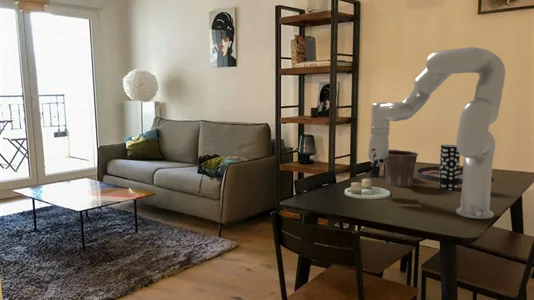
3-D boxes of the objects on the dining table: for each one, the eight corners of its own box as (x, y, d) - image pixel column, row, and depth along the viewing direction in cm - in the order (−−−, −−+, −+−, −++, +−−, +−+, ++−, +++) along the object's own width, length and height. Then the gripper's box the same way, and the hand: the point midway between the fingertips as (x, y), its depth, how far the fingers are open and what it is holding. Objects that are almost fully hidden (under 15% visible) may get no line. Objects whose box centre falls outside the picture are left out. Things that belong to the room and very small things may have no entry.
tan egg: (363, 195, 186) (363, 184, 185) (354, 196, 184) (354, 184, 184) (357, 193, 190) (358, 182, 189) (349, 194, 189) (349, 182, 188)
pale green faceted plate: (391, 202, 178) (391, 196, 178) (344, 200, 182) (344, 194, 181) (387, 191, 197) (387, 186, 196) (344, 190, 200) (345, 184, 200)
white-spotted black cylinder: (459, 190, 198) (462, 147, 195) (440, 189, 199) (442, 146, 197) (455, 186, 206) (458, 144, 203) (437, 185, 207) (439, 144, 205)
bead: (371, 192, 192) (372, 181, 191) (361, 191, 193) (361, 180, 192) (371, 189, 196) (371, 179, 195) (361, 189, 197) (361, 178, 196)
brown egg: (381, 173, 187) (381, 162, 186) (385, 175, 183) (385, 163, 182) (371, 173, 187) (371, 162, 186) (374, 175, 182) (375, 164, 182)
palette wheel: (417, 181, 219) (417, 176, 219) (416, 169, 252) (417, 165, 252) (494, 185, 208) (494, 180, 208) (483, 172, 241) (483, 168, 241)
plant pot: (423, 185, 208) (424, 152, 206) (405, 191, 197) (406, 156, 195) (393, 180, 220) (394, 149, 218) (375, 185, 209) (375, 152, 207)
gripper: (380, 129, 191) (379, 170, 193) (362, 132, 178) (360, 176, 181) (397, 130, 186) (395, 172, 188) (378, 134, 173) (377, 178, 176)
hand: (378, 174), depth 185 cm, fingers closed on brown egg, 4 cm apart
